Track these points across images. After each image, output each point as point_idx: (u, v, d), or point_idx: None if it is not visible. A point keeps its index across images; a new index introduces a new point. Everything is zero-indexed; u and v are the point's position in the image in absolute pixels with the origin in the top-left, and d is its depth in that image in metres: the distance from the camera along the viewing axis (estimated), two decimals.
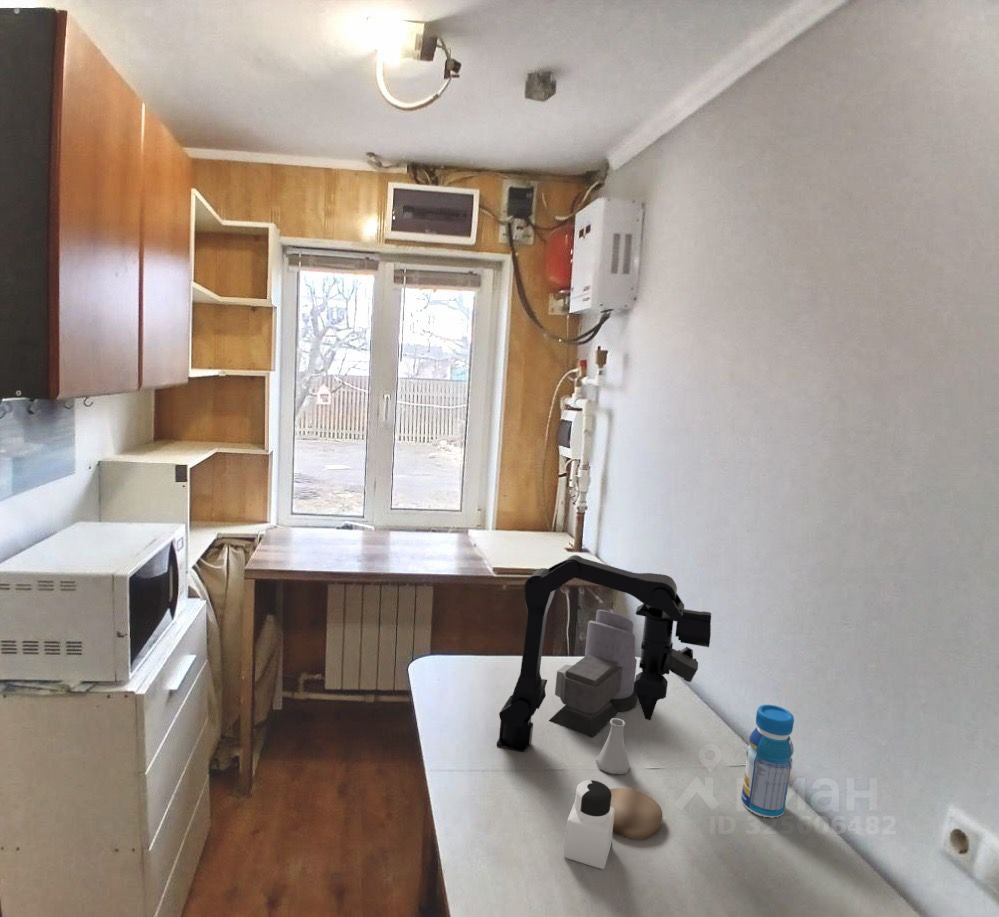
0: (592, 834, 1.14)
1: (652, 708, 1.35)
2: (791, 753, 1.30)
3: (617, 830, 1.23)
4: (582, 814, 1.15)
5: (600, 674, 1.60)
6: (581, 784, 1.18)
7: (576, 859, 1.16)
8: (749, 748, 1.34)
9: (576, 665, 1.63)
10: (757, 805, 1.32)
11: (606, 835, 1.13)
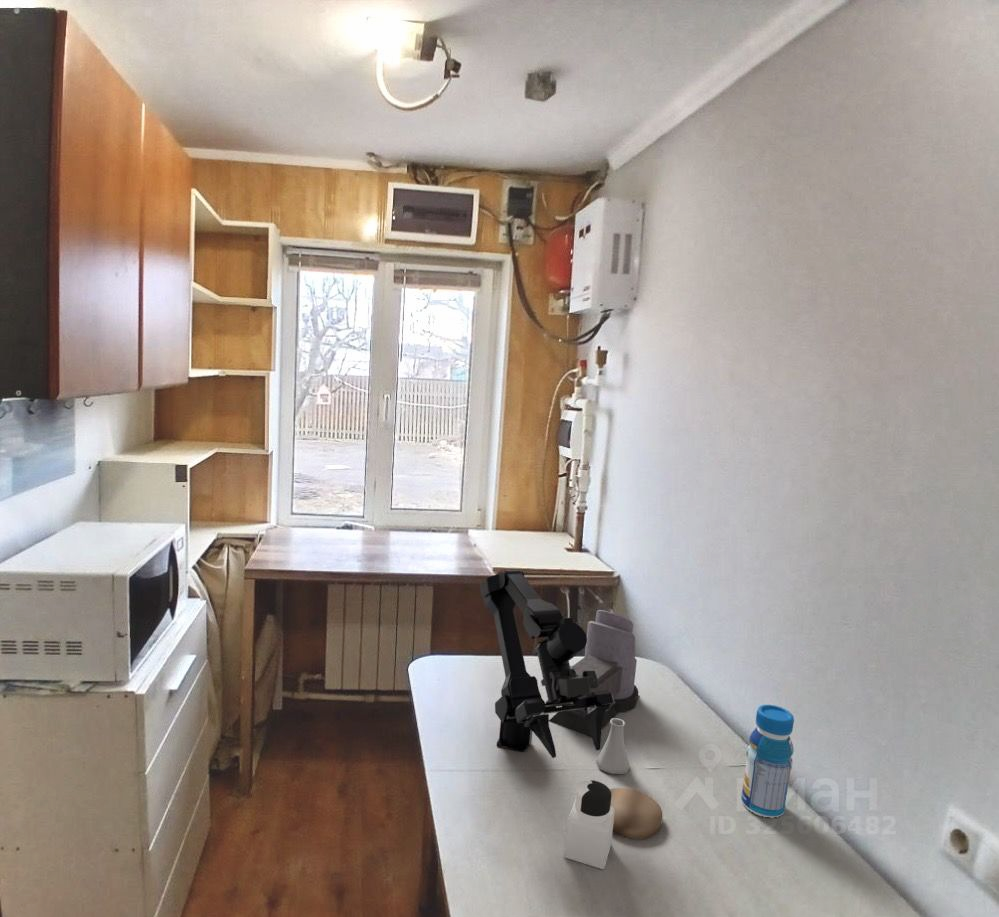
0: (592, 835, 1.14)
1: (547, 740, 1.23)
2: (791, 753, 1.30)
3: (617, 830, 1.23)
4: (582, 814, 1.15)
5: (600, 674, 1.60)
6: (581, 784, 1.18)
7: (576, 859, 1.16)
8: (749, 748, 1.34)
9: (576, 665, 1.63)
10: (757, 805, 1.32)
11: (606, 835, 1.13)
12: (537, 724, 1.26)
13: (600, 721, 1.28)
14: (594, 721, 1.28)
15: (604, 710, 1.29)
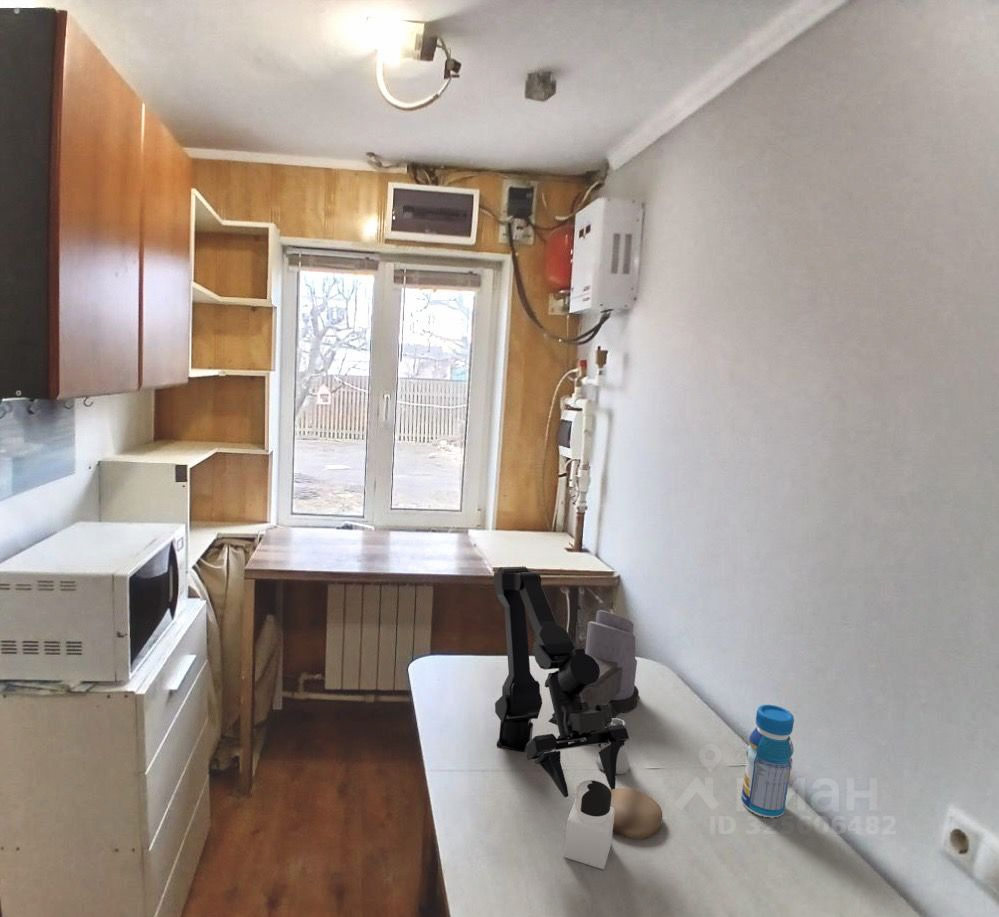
0: (592, 835, 1.14)
1: (559, 778, 1.17)
2: (791, 753, 1.30)
3: (617, 830, 1.23)
4: (582, 814, 1.15)
5: (600, 674, 1.59)
6: (581, 784, 1.18)
7: (576, 859, 1.16)
8: (749, 748, 1.34)
9: None
10: (757, 805, 1.32)
11: (606, 835, 1.13)
12: (548, 761, 1.20)
13: (615, 758, 1.22)
14: (608, 758, 1.22)
15: (619, 746, 1.22)
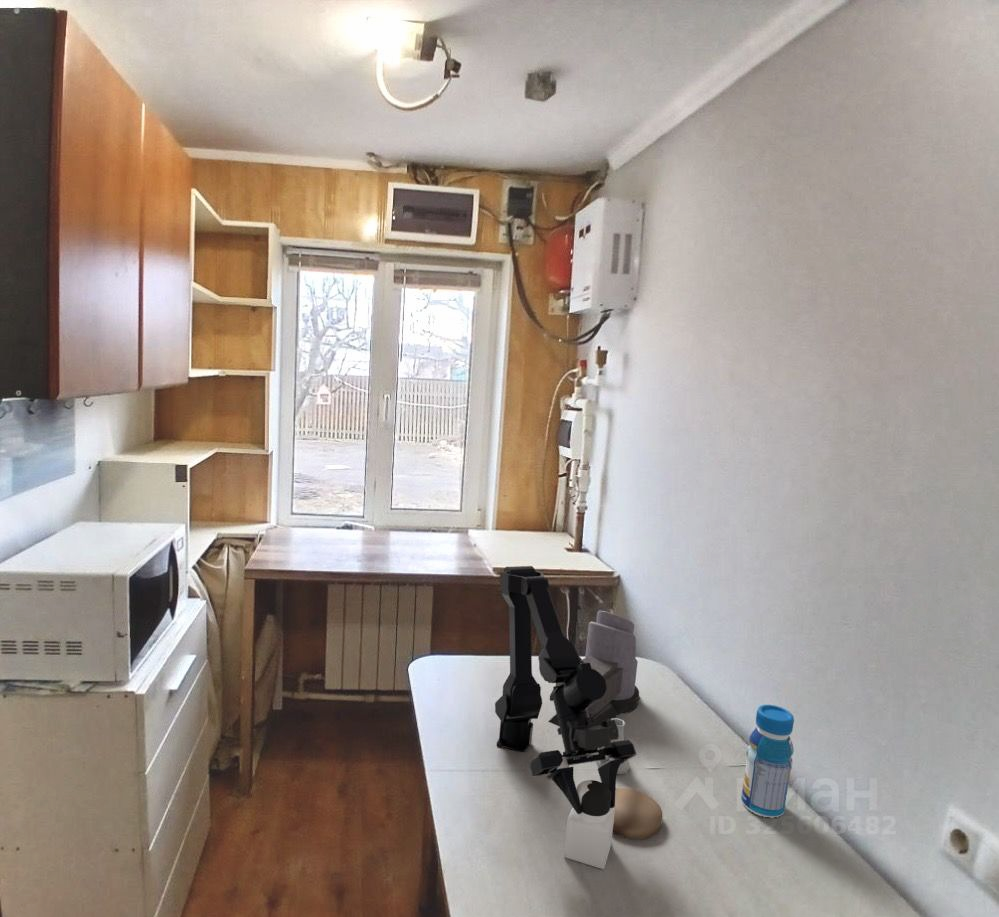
0: (592, 834, 1.14)
1: (572, 795, 1.16)
2: (791, 753, 1.30)
3: (617, 830, 1.23)
4: (582, 814, 1.15)
5: None
6: (581, 784, 1.18)
7: (576, 859, 1.16)
8: (749, 748, 1.34)
9: None
10: (757, 805, 1.32)
11: (606, 835, 1.13)
12: (561, 777, 1.19)
13: (614, 775, 1.19)
14: (608, 775, 1.20)
15: (618, 763, 1.20)
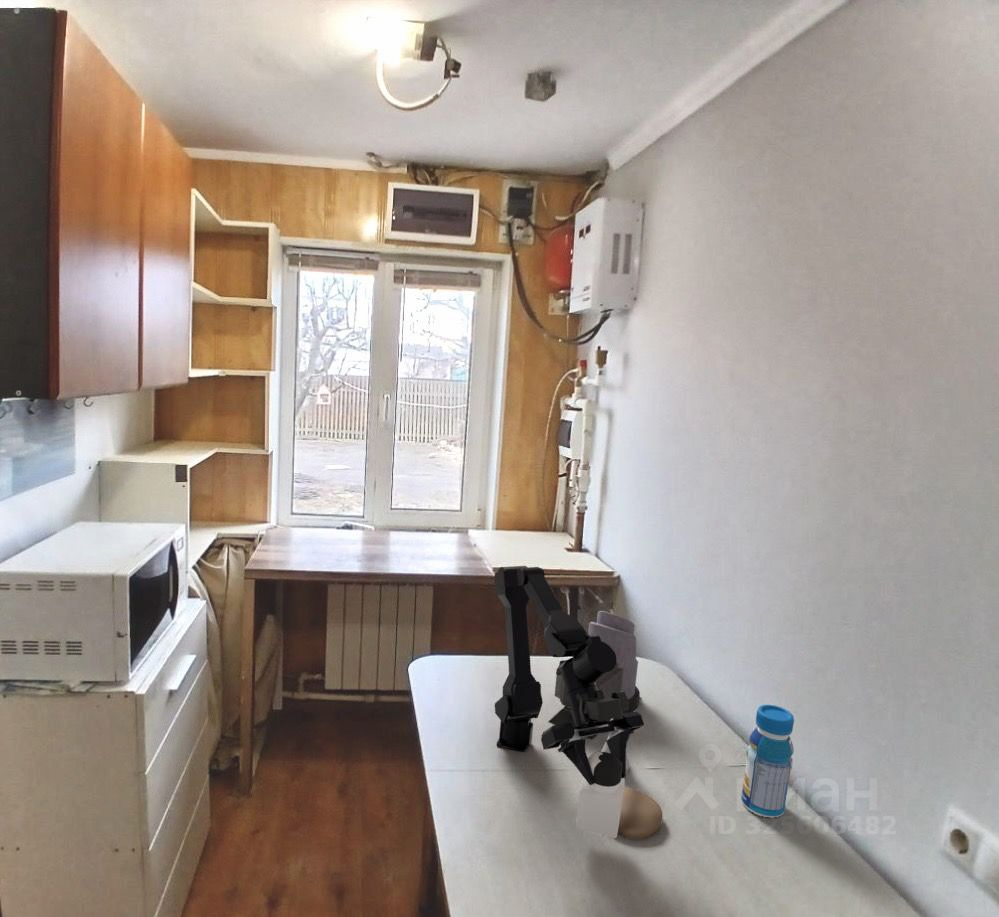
0: (605, 804, 1.15)
1: (584, 766, 1.16)
2: (791, 753, 1.30)
3: None
4: (594, 785, 1.16)
5: None
6: (592, 756, 1.19)
7: (588, 829, 1.17)
8: (749, 748, 1.34)
9: None
10: (757, 805, 1.32)
11: (619, 804, 1.14)
12: (572, 749, 1.19)
13: (624, 746, 1.20)
14: (618, 746, 1.21)
15: (628, 734, 1.21)
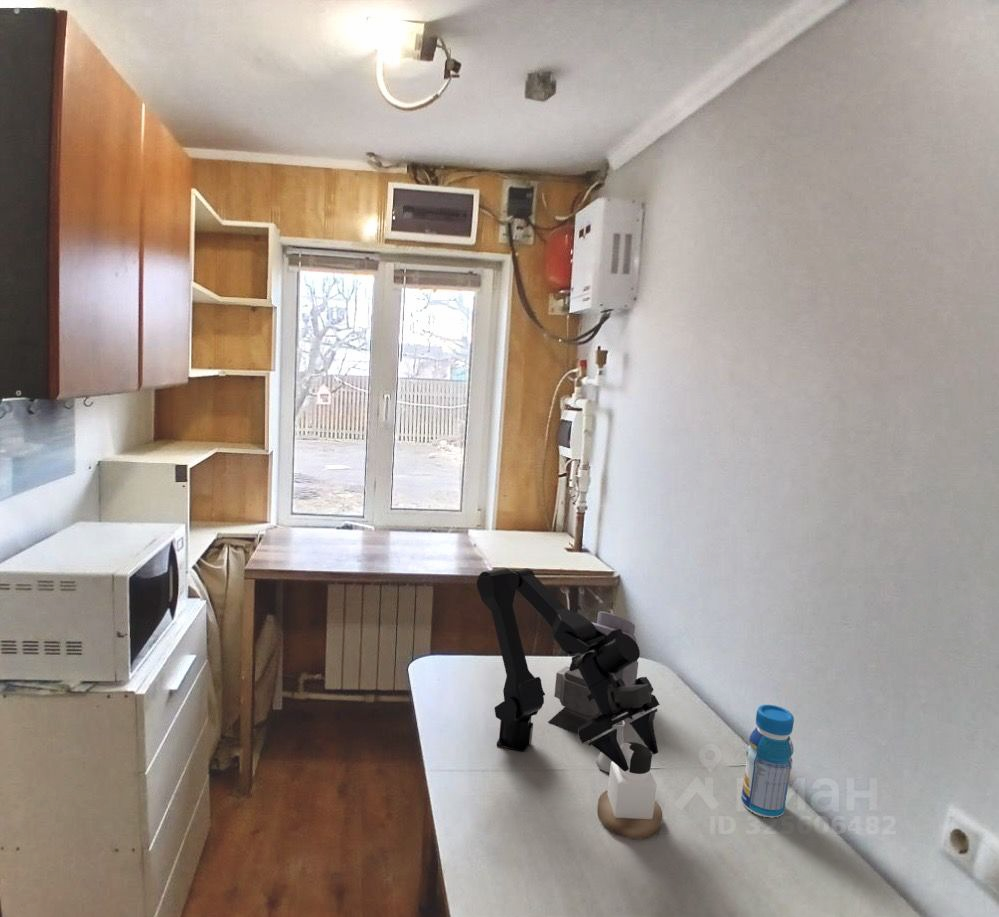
0: (642, 790, 1.24)
1: (618, 754, 1.23)
2: (791, 753, 1.30)
3: (617, 830, 1.23)
4: (631, 774, 1.24)
5: None
6: (623, 748, 1.27)
7: (627, 816, 1.25)
8: (749, 748, 1.34)
9: None
10: (757, 805, 1.32)
11: (655, 788, 1.24)
12: (602, 741, 1.25)
13: (652, 725, 1.31)
14: (646, 726, 1.31)
15: (654, 713, 1.31)
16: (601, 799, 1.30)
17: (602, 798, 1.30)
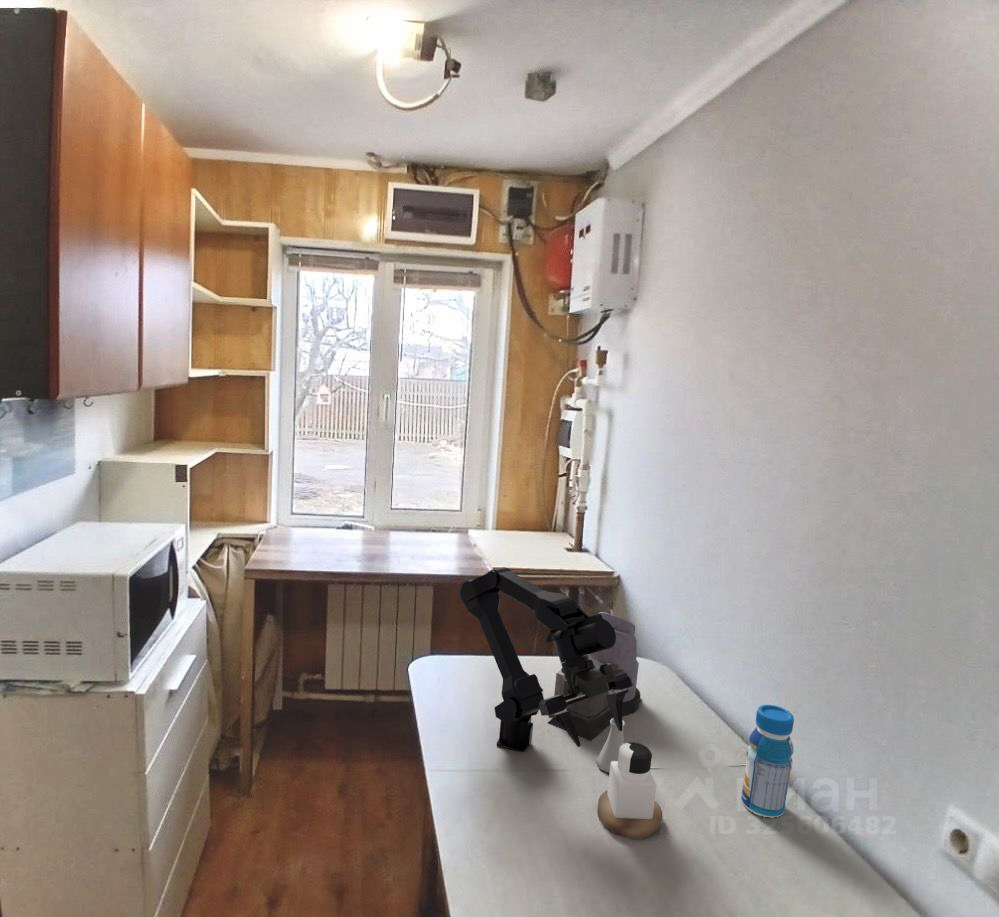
0: (642, 790, 1.24)
1: (571, 732, 1.31)
2: (791, 753, 1.30)
3: (617, 830, 1.23)
4: (631, 774, 1.24)
5: None
6: (623, 748, 1.27)
7: (627, 816, 1.25)
8: (749, 748, 1.34)
9: None
10: (757, 805, 1.32)
11: (655, 788, 1.24)
12: None
13: (620, 704, 1.34)
14: (615, 704, 1.35)
15: (623, 694, 1.34)
16: (601, 799, 1.30)
17: (602, 798, 1.30)
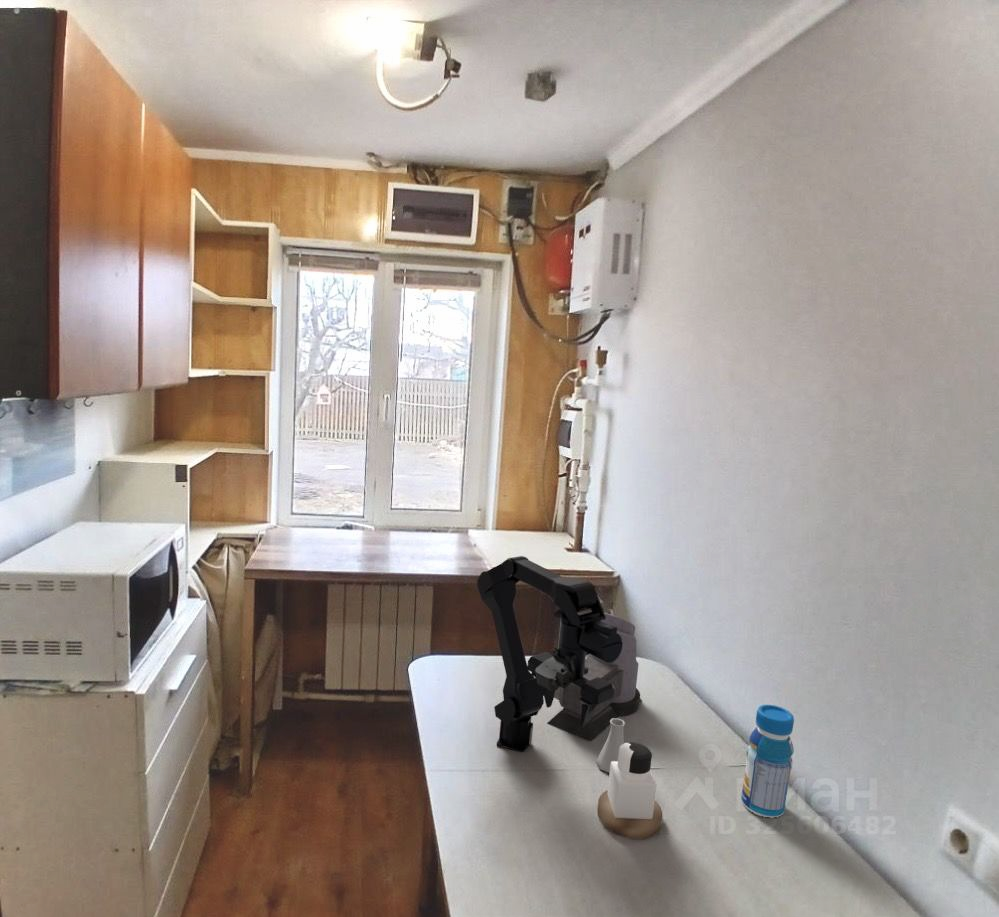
0: (642, 790, 1.24)
1: None
2: (791, 753, 1.30)
3: (617, 830, 1.23)
4: (631, 774, 1.24)
5: (599, 677, 1.58)
6: (623, 748, 1.27)
7: (627, 816, 1.25)
8: (749, 748, 1.34)
9: None
10: (757, 805, 1.32)
11: (655, 788, 1.24)
12: None
13: (585, 708, 1.33)
14: None
15: (586, 704, 1.31)
16: (601, 799, 1.30)
17: (602, 798, 1.30)
